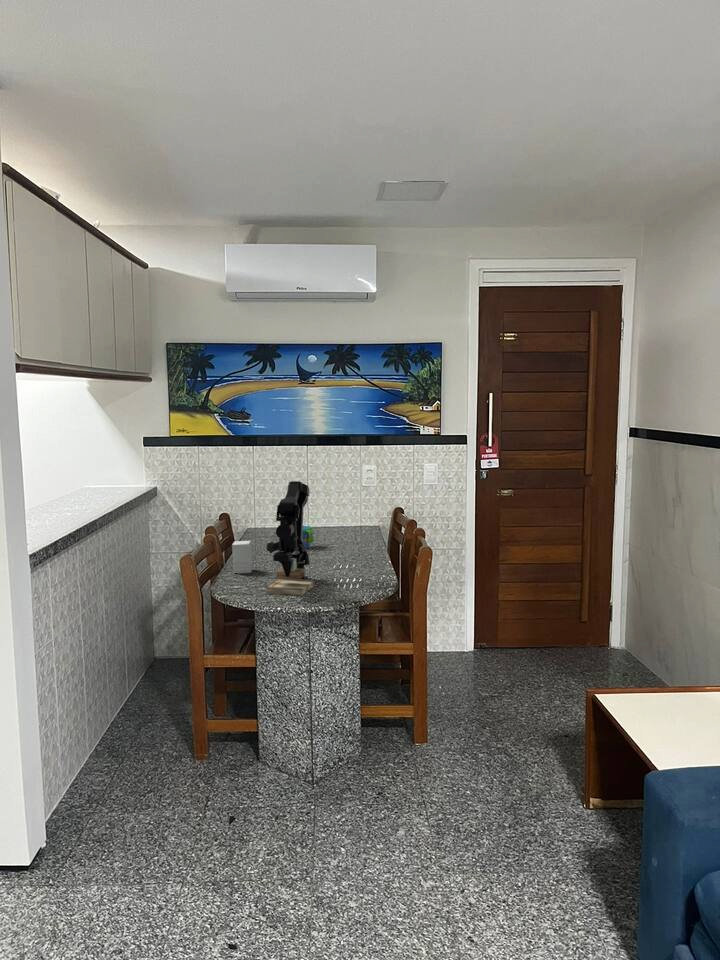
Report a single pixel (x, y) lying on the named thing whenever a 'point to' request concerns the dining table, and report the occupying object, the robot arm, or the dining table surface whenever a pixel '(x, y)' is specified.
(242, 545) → the supplement box
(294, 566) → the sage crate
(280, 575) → the walnut pallet
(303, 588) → the birch dock
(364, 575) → the dining table surface
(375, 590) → the dining table surface
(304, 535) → the snack cup
